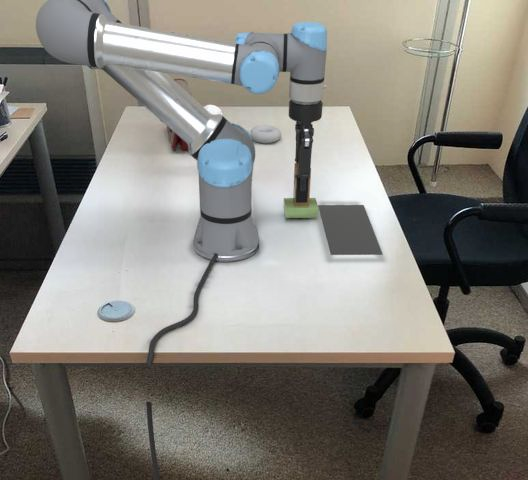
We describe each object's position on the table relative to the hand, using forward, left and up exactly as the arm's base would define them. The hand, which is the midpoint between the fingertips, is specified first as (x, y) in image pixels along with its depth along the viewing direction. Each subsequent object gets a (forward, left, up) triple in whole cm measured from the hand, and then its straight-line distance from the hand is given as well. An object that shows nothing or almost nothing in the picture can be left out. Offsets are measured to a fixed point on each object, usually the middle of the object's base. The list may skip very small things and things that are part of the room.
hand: (300, 197), depth 158 cm
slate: (-2, -13, -7) cm, 15 cm away
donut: (+54, +24, -7) cm, 59 cm away
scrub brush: (0, 0, -4) cm, 4 cm away
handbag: (+45, +49, -7) cm, 67 cm away
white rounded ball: (+57, +44, -3) cm, 72 cm away
